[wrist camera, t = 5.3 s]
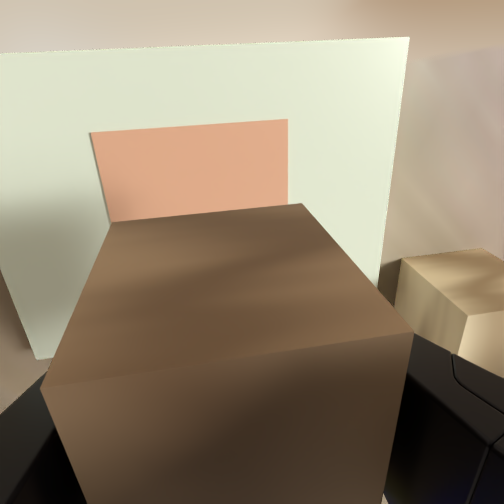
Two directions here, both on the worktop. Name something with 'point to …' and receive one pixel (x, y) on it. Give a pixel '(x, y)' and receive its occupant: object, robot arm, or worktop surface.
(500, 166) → the worktop surface
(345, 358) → the walnut block
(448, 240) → the worktop surface
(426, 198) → the worktop surface
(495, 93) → the worktop surface
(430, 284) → the maple block
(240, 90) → the plate
